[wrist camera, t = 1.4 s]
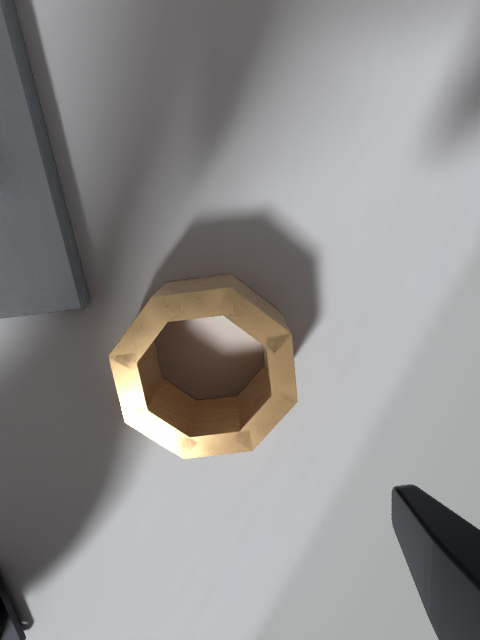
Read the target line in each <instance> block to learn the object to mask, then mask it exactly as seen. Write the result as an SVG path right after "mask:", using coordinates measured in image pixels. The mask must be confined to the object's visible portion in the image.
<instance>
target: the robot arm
mask: <svg viewBox="0 0 480 640" xmlns="http://www.w3.org/2000/svg"><path fill="white" fill-rule="evenodd" d="M392 523H393V528H394V531H395V534H396V536H397V539H398V541H399V543H400V546H401V549H402V551H403V554H404V557H405V559H406V562H407V564H408V567H409V569H410V572H411V574H412V577H413V580H414V582H415V585H416V587H417V590H418V592H419V595H420V597H421V600H422V602H423V605H424V608H425V610H426V612H427V615H428V617H429V620H430V622H431V624H432V626H433V628H434V630H435V632H436V635H437V637H438V639H439V640H480V530H479V529H478V528H476V527H475V526H473V525H472V524H470V523H469V522H468V521H466V520H465V519H463V518H462V517H460V516H459V515H457V514H456V513H454V512H453V511H452V510H450V509H449V508H447V507H445V506H444V505H443V504H441V503H440V502H438V501H437V500H436V499H434V498H433V497H431V496H430V495H428V494H427V493H426V492H424V491H423V490H421V489H420V488H418V487H417V486H415V485H401V486H396V487H394V488H393V489H392ZM25 639H26V636H25V634H24V631H23V629H22V627H21V624H20V622H19V620H18V618H17V615H16V613H15V611H14V608H13V606H12V604H11V601H10V599H9V597H8V594H7V592H6V590H5V588H4V585H3V583H2V581H1V578H0V640H25Z"/></svg>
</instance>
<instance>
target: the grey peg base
mask: <svg viewBox="0 0 480 640" xmlns="http://www.w3.org/2000/svg"><path fill="white" fill-rule="evenodd" d="M89 303H90V299H89V295H88V292H87V288H86V284H85V280H84V276H83V272H82V268H81V264H80V260H79V256H78V252H77V248H76V244H75V240H74V237H73V233H72V229H71V225H70V221H69V217H68V213H67V209H66V205H65V201H64V197H63V193H62V189H61V185H60V181H59V178H58V174H57V170H56V166H55V162H54V158H53V154H52V150H51V146H50V142H49V138H48V134H47V130H46V126H45V123H44V119H43V115H42V111H41V107H40V103H39V99H38V95H37V91H36V87H35V83H34V79H33V75H32V71H31V68H30V64H29V60H28V56H27V52H26V48H25V44H24V40H23V36H22V32H21V28H20V24H19V20H18V16H17V12H16V9H15V5H14V1H13V0H0V319H1V318H9V317H17V316H25V315H33V314H41V313H49V312H57V311H65V310H73V309H81V308H83V307H84V306H86V305H88V304H89Z"/></svg>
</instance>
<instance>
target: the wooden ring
mask: <svg viewBox="0 0 480 640" xmlns="http://www.w3.org/2000/svg"><path fill="white" fill-rule="evenodd" d="M221 315H223V316H225V317H226V318H228V319H229V320H230V321H232V322H233V323H234V324H236V325H237V326H238V327H240V328H241V329H242V330H244V331H245V332H246V333H248V334H249V335H251V336H252V337H253V338H255V339H256V340H257V341H259V342H260V343H261V344H263V351H264V360H265V365H264V366H263V367H262V369H261V370H260V371H259V372H258V373H257V374H256V376H255V377H254V378H253V379H252V380H251V381H250V383H249V384H248V385H247V386H246V387H245V388H244V389H243V391H242V392H241V393H240V394H239V395H237V396H229V397H221V398H212V399H204V400H196V399H194V398H193V397H191V396H190V395H188V394H187V393H185V392H184V391H182V390H181V389H179V388H178V387H176V386H175V385H173V384H172V383H170V382H169V381H167V380H166V379H164V378H163V377H162V375H161V370H160V365H159V360H158V355H157V350H156V346H155V341H154V339H155V338H156V337H157V335H158V334H159V333H160V331H161V330H162V329H163V328H164V326H165V325H166V324H167V322H172V321H181V320H189V319H197V318H205V317H213V316H221ZM108 357H109V361H110V365H111V369H112V373H113V377H114V381H115V385H116V389H117V393H118V397H119V401H120V405H121V409H122V413H123V417H124V421H125V423H127V424H128V425H130V426H132V427H133V428H135V429H136V430H138V431H140V432H141V433H143V434H144V435H146V436H148V437H149V438H151V439H152V440H154V441H156V442H157V443H159V444H160V445H162V446H164V447H165V448H167V449H169V450H170V451H172V452H173V453H175V454H177V455H178V456H180V457H181V458H183V459H188V458H196V457H205V456H213V455H222V454H230V453H239V452H247V451H253V450H254V449H255V447H256V446H257V445H258V444H259V443H260V442H261V441H262V440H263V439H264V438H265V437H266V436H267V434H268V433H269V432H270V431H271V430H272V429H273V428H274V427H275V426H276V425H277V424H278V422H279V421H280V420H281V419H282V418H283V417H284V416H285V415H286V414H287V413H288V412H289V411H290V409H291V408H292V407H293V406H294V405H295V404H296V403H297V402H298V401H297V390H296V378H295V366H294V354H293V342H292V333H291V331H290V329H289V327H288V325H287V323H286V321H285V319H284V317H283V315H282V313H281V312H280V311H278V310H277V309H276V308H275V307H273V306H272V305H271V304H269V303H268V302H267V301H265V300H264V299H263V298H262V297H260V296H259V295H258V294H256V293H255V292H254V291H252V290H251V289H250V288H249V287H247V286H246V285H245V284H243V283H242V282H241V281H239V280H238V279H237V278H236V277H234V276H233V275H232V274H227V275H219V276H211V277H203V278H195V279H187V280H179V281H171V282H166V283H165V284H164V285H163V286H162V287H161V288H160V289H159V290H158V291H157V292H156V293H155V294H154V295H153V296H152V297H151V298H150V300H149V301H148V302H147V304H146V305H145V307H144V308H143V309H142V311H141V312H140V313H139V315H138V316H137V318H136V319H135V320H134V322H133V323H132V324H131V326H130V327H129V329H128V330H127V331H126V333H125V334H124V335H123V337H122V338H121V340H120V341H119V342H118V344H117V345H116V346H115V348H114V349H113V351H112V352H111V353H110V355H109V356H108Z"/></svg>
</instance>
